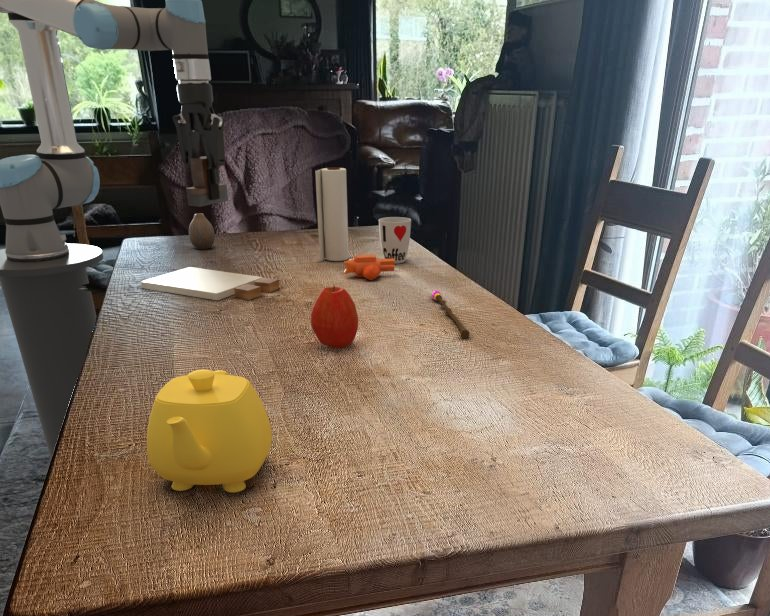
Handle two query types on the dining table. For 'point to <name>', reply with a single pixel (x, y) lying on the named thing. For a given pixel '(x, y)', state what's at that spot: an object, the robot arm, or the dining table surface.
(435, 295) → the magic wand
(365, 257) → the orange toy bird
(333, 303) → the apple
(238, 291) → the brown wooden block
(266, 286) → the tan wooden block
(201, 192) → the wooden toy block
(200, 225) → the vase
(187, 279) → the board
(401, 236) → the cup
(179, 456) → the teapot
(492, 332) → the dining table surface
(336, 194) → the paper towel roll
